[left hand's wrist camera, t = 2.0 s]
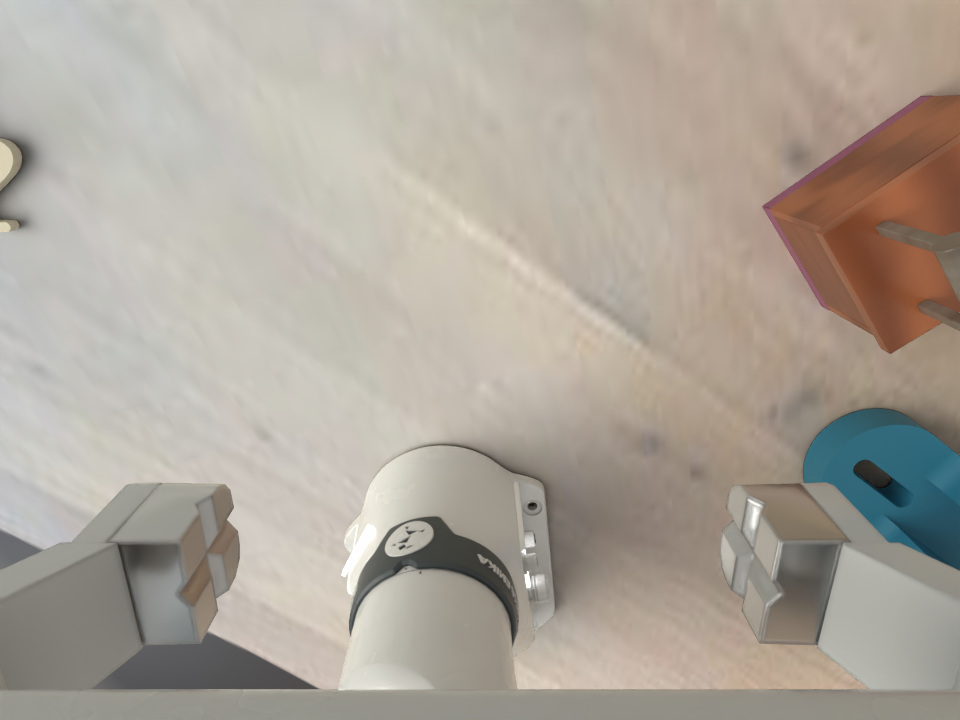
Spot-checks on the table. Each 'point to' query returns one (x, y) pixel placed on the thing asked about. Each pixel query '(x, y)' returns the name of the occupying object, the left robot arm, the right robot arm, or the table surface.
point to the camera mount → (894, 479)
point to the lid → (903, 250)
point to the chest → (856, 190)
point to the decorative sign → (8, 174)
